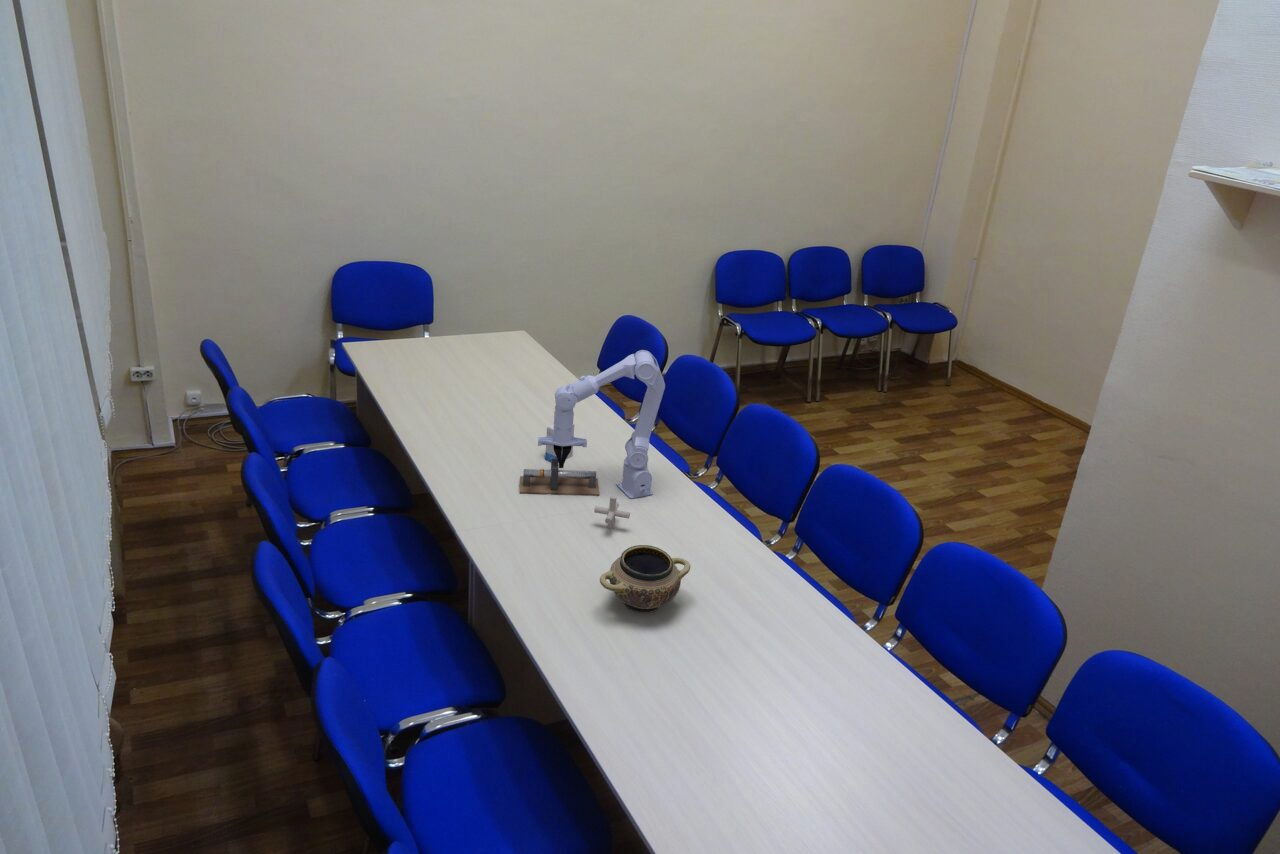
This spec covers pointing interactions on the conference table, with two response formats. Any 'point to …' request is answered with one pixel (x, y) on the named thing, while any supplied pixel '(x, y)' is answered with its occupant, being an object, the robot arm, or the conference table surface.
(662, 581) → the ceramic bowl
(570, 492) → the walnut board
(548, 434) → the ink box
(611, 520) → the pipe connector
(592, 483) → the steel pipe
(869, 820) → the conference table surface
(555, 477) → the rubber collar
